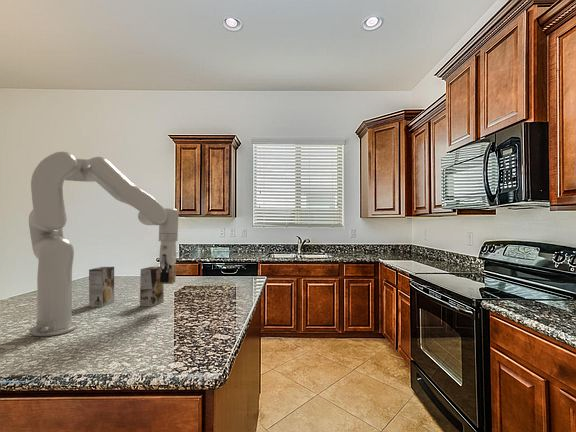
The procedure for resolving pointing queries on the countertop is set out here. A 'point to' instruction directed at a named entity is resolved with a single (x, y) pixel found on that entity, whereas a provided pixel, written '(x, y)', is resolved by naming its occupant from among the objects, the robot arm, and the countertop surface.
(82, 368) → the countertop surface
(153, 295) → the coffee box
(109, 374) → the countertop surface
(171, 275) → the tan cube
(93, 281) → the coffee box
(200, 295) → the countertop surface
